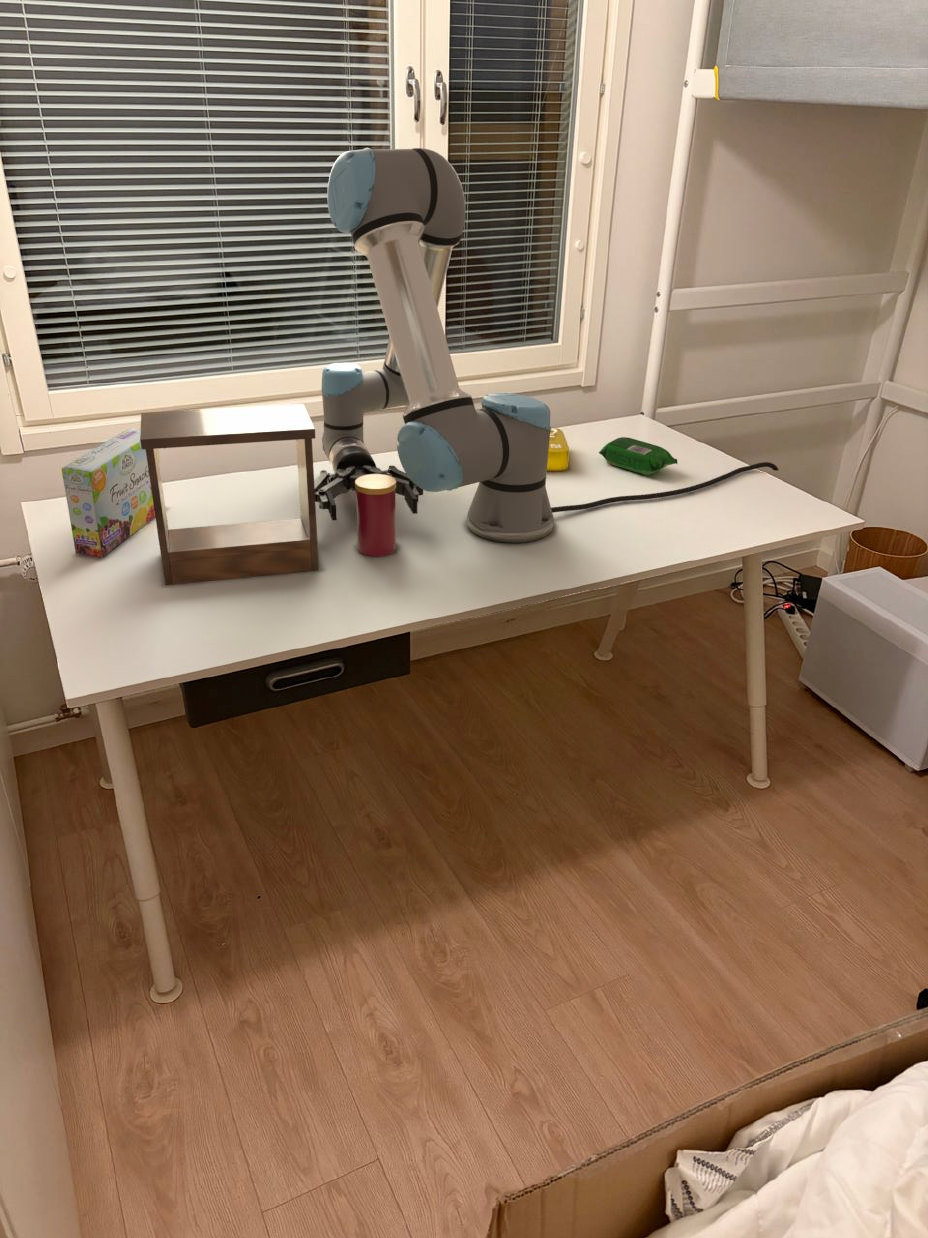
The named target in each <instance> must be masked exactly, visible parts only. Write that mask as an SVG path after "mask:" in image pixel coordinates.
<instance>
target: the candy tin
mask: <svg viewBox="0 0 928 1238" xmlns="http://www.w3.org/2000/svg"><path fill="white" fill-rule="evenodd" d="M355 488H356V491H355V498H356V499H355V500H356V501H355V503H356V531H357V535H356V537H357V551H358V552H359V553H361V554H363V555H365V556H369V557H385V556H389V555H391V554H393V553H394V552H395V551H396V549H397V526H396V525H397V520H396V519H397V517H396V513H397V512H396V510H397V509H396V507H397V506H396V504H397V503H396V501H397V500H396V493H395V489H396V480H395V479H394V478H393V477H391V476H388V475H383V474H369V475H364V476H361V477H358V478H357V479H356V480H355Z"/></svg>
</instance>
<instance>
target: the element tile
mask: <svg viewBox="0 0 928 1238" xmlns="http://www.w3.org/2000/svg"><path fill="white" fill-rule="evenodd" d="M569 461H570V447H569V444H568V441H567V439H566V436H565V434H564V432H563V431H562V430H561V429H560V428H557V427H556V428H555V427H553V428H552V427H551V431H550V439H549V450H548V461H547V472H563V471H566V470H567V469H568V468H569Z"/></svg>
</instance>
